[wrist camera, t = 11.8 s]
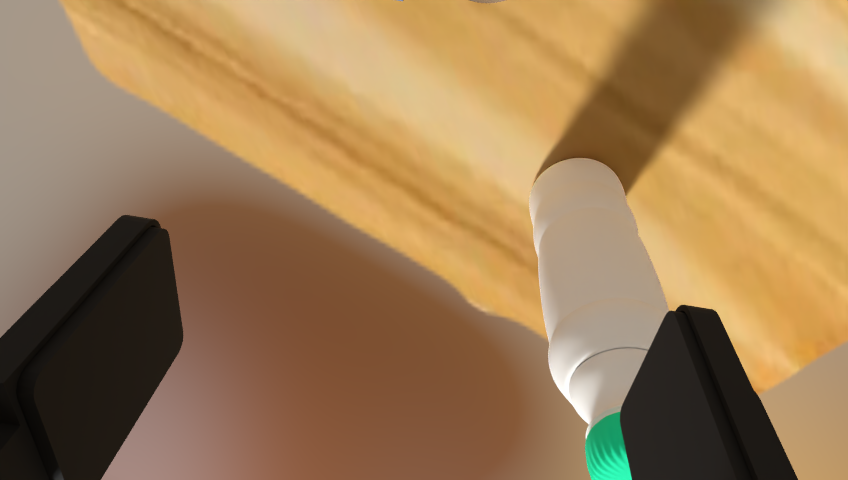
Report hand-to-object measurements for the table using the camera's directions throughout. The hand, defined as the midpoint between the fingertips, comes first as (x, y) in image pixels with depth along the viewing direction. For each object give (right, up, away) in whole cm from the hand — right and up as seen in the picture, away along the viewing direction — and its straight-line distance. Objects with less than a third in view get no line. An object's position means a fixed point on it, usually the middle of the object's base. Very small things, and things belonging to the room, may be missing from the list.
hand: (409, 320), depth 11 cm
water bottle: (+12, +5, +35) cm, 37 cm away
